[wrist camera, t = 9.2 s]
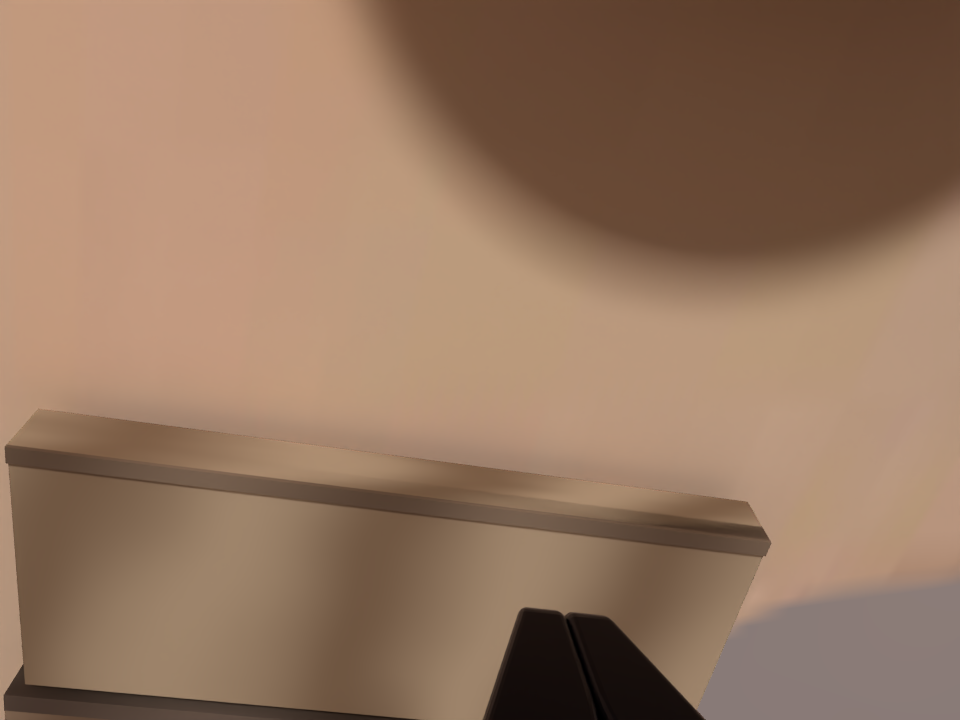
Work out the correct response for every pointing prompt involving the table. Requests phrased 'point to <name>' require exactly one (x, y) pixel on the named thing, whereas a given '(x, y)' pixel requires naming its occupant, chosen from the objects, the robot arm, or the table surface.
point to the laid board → (142, 707)
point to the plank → (342, 568)
